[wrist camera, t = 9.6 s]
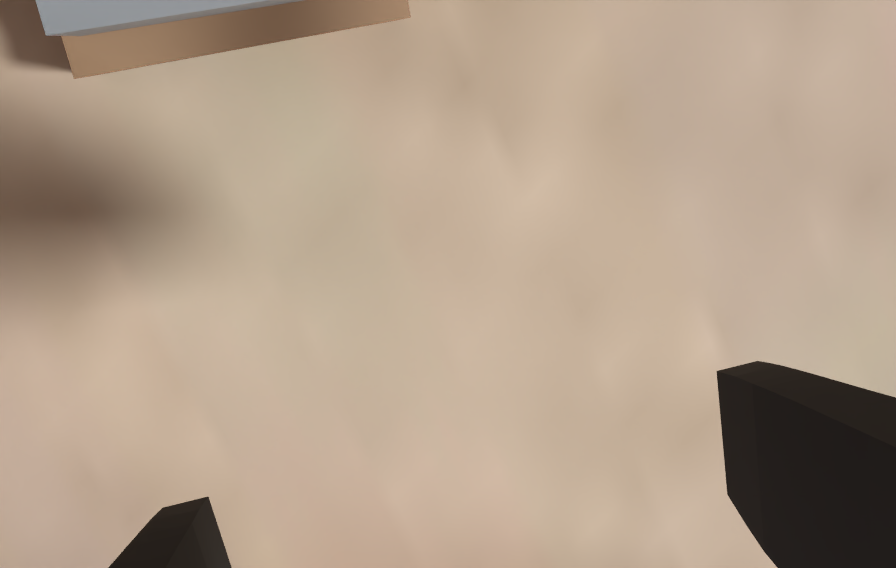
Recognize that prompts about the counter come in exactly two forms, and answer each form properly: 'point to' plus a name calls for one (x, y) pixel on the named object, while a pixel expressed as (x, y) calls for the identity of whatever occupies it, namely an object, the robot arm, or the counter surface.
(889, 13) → the counter surface
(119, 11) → the top block
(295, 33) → the base block
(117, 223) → the counter surface
